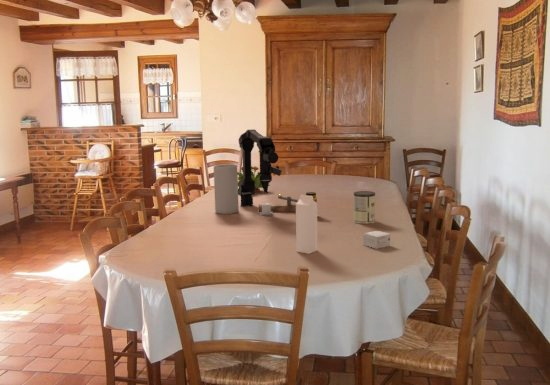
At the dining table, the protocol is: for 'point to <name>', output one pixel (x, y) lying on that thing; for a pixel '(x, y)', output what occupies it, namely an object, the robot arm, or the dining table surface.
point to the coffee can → (364, 207)
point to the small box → (376, 239)
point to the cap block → (266, 208)
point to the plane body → (281, 206)
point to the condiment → (313, 196)
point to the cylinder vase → (226, 189)
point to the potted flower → (255, 178)
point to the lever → (286, 198)
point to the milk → (306, 224)
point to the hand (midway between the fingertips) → (265, 191)
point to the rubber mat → (265, 214)
